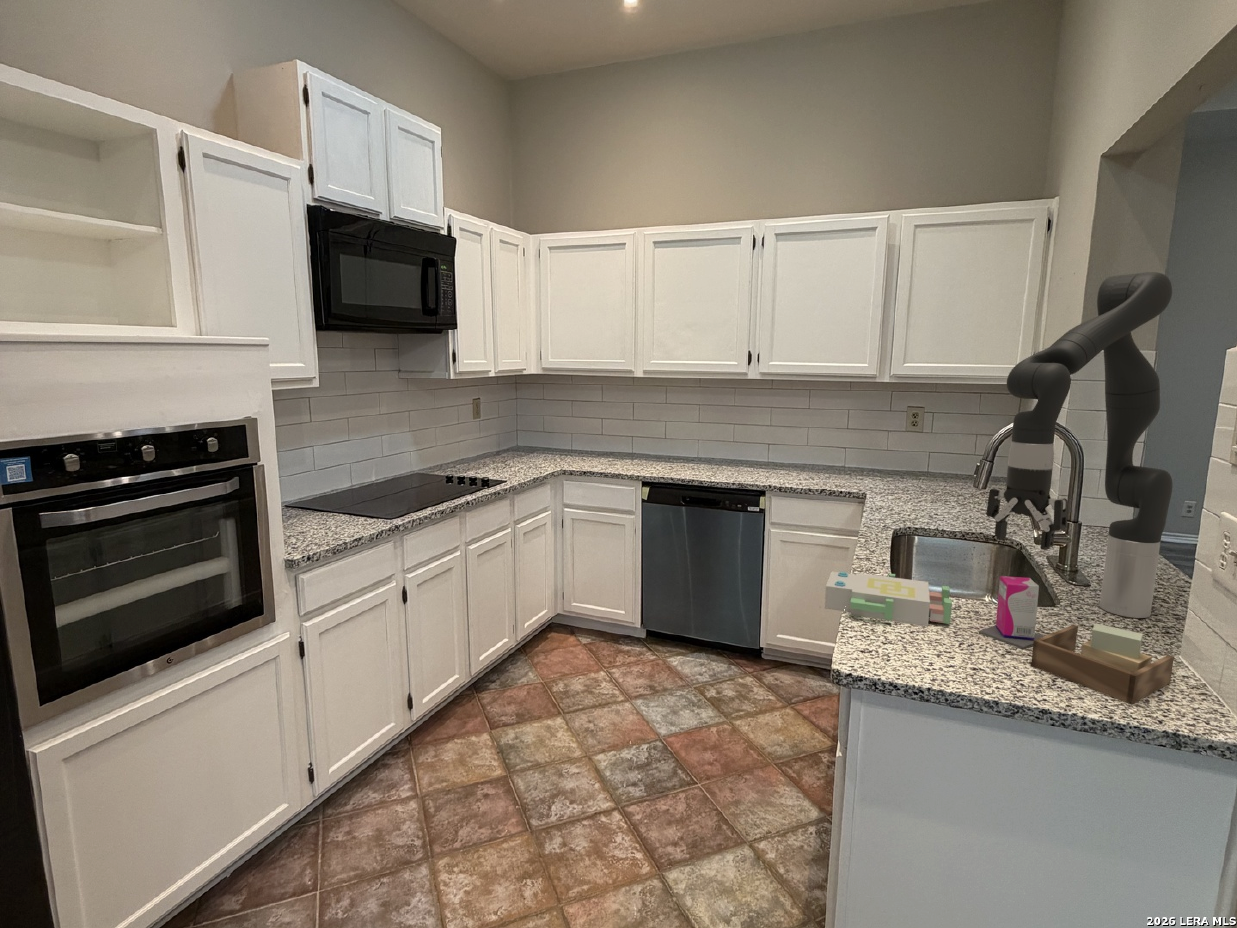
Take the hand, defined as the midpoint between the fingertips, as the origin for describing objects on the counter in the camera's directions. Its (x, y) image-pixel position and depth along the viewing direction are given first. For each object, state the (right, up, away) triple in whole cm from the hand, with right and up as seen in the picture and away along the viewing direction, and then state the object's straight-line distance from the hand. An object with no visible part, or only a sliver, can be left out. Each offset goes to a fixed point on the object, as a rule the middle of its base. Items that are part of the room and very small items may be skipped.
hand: (1022, 544), depth 131 cm
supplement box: (0, -19, +3) cm, 19 cm away
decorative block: (-20, -18, +18) cm, 32 cm away
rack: (+6, -22, -13) cm, 26 cm away
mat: (0, -20, +3) cm, 20 cm away
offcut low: (+10, -22, -11) cm, 27 cm away
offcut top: (+10, -18, -11) cm, 24 cm away
